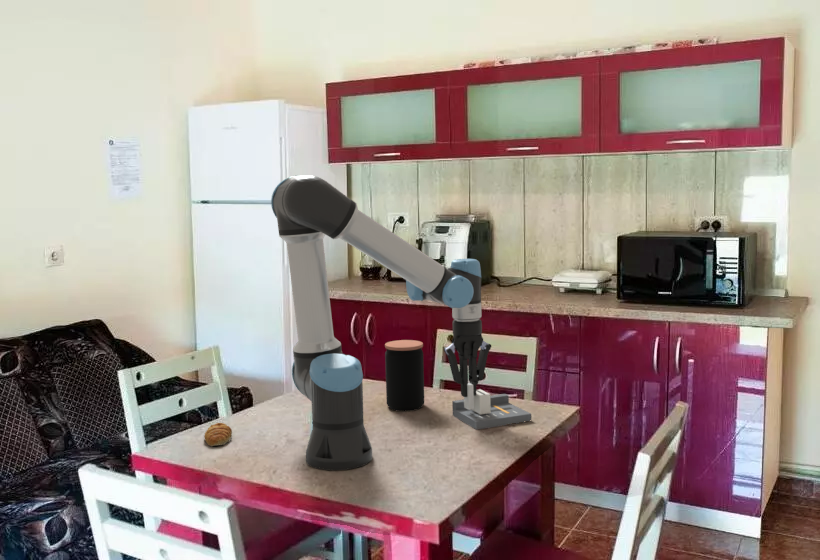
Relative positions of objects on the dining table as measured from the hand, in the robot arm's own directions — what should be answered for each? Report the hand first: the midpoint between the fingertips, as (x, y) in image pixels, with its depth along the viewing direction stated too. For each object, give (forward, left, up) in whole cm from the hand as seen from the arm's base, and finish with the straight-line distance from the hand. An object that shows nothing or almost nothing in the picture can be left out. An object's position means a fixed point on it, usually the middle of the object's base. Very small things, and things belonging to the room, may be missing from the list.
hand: (468, 408), depth 214 cm
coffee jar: (-10, +21, -4) cm, 23 cm away
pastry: (-62, +14, -4) cm, 64 cm away
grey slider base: (+6, 0, -4) cm, 7 cm away
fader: (+3, 0, -1) cm, 4 cm away
